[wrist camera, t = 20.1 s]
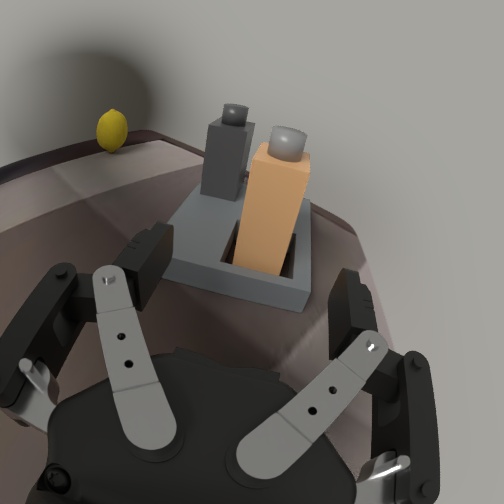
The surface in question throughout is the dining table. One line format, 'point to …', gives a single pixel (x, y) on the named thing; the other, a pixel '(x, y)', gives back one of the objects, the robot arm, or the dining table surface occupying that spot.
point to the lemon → (112, 130)
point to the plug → (272, 201)
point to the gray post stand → (233, 226)
